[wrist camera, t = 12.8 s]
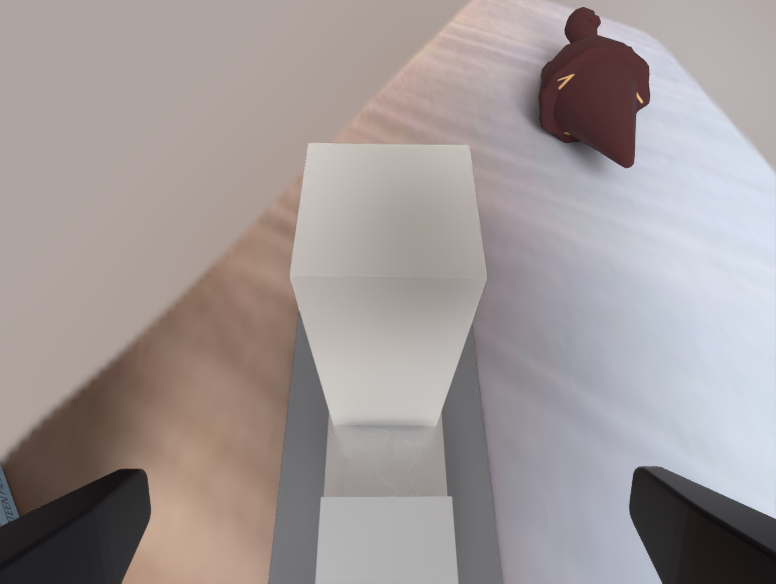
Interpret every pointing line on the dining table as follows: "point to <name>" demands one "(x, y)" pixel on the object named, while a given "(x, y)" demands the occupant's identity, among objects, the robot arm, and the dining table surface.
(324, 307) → the block
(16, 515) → the gum box
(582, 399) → the dining table surface
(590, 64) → the brown toy animal
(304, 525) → the rail board
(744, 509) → the robot arm
